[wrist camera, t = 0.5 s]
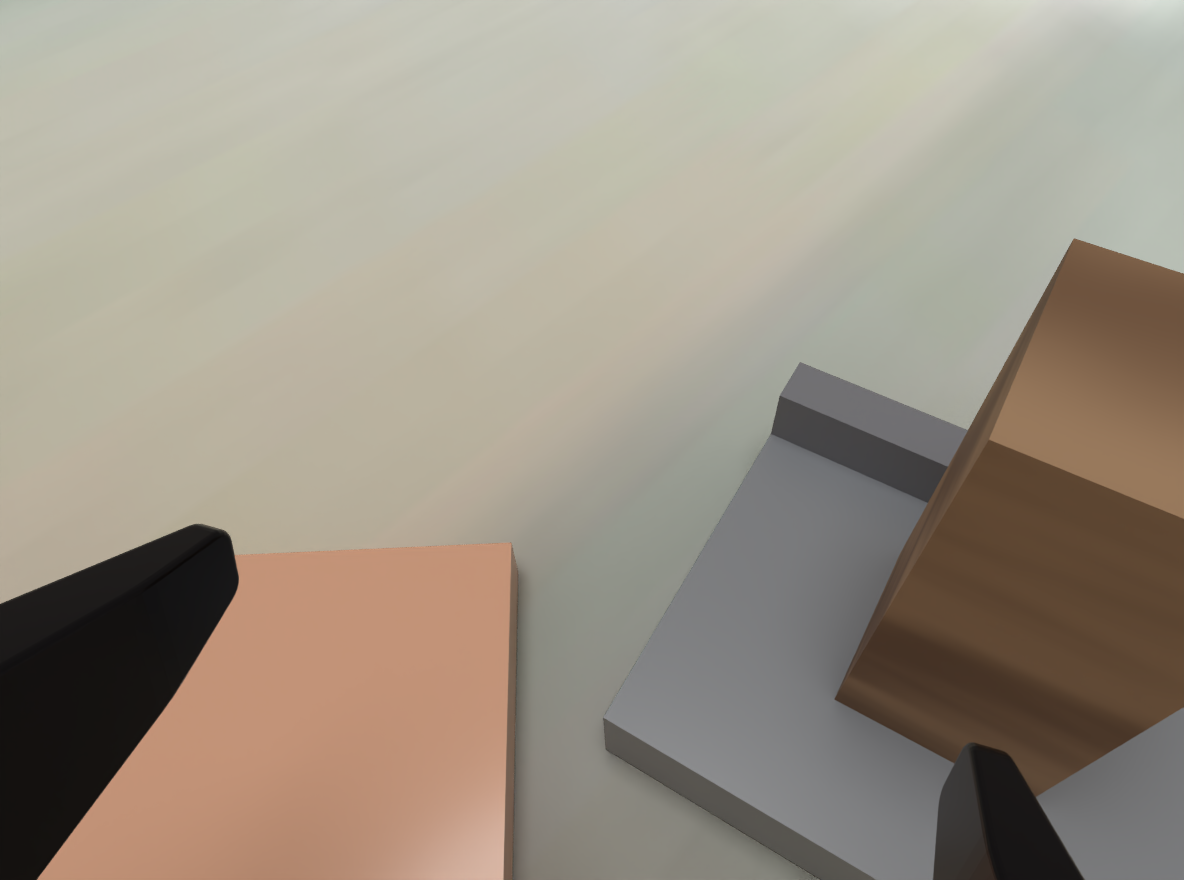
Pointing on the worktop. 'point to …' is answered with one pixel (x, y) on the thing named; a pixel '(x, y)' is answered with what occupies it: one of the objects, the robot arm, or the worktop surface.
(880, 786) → the slate shelf ledge
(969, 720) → the walnut block
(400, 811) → the terracotta tile stand
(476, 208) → the worktop surface
